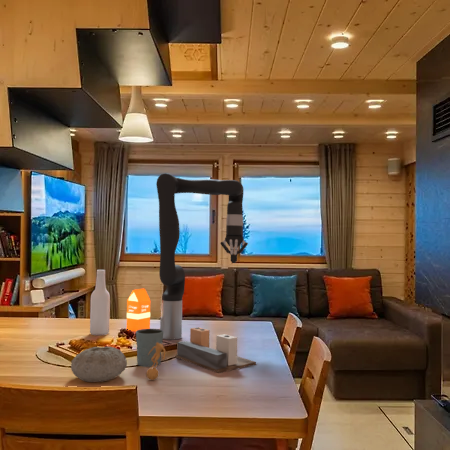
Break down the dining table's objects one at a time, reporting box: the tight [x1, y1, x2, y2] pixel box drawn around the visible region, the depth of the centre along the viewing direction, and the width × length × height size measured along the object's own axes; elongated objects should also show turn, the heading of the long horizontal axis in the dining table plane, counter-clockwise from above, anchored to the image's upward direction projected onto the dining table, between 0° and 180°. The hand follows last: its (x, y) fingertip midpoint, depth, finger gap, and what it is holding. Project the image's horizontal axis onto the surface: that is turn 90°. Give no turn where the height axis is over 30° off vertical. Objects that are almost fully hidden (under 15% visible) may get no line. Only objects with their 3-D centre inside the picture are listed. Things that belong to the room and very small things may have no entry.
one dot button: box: [215, 333, 238, 366], centre depth 177 cm, size 4×7×10 cm, turn 40°
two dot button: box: [189, 326, 211, 348], centre depth 190 cm, size 4×7×10 cm, turn 40°
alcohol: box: [89, 269, 111, 336], centre depth 229 cm, size 9×9×30 cm
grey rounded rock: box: [70, 346, 128, 383], centre depth 160 cm, size 18×18×10 cm
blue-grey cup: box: [135, 328, 164, 368], centre depth 179 cm, size 10×10×12 cm
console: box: [175, 340, 257, 374], centre depth 184 cm, size 18×26×6 cm
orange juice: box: [126, 288, 151, 333], centre depth 241 cm, size 8×9×20 cm
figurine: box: [145, 342, 167, 381], centre depth 160 cm, size 8×6×12 cm
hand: (233, 262), depth 221 cm, fingers closed
